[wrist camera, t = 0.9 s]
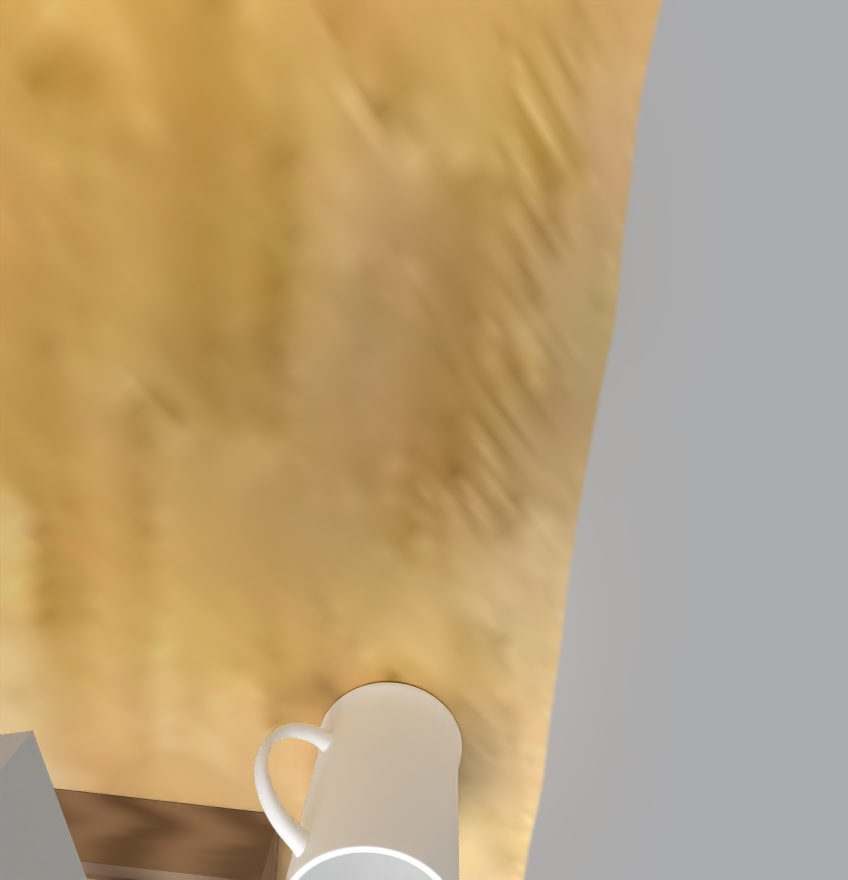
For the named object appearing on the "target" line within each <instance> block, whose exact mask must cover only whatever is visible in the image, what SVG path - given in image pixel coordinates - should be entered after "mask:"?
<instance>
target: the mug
mask: <svg viewBox="0 0 848 880" xmlns="http://www.w3.org/2000/svg"><path fill="white" fill-rule="evenodd" d="M284 738H297V739H302V740H305V741H308V742H310V743H312V744H314V745H315V746H316V747H318V754H317V758H316V762H315V766H314V770H313V774H312V778H311V782H310V786H309V790H308V794H307V798H306V801H305V805H304V809H303V813H302V817H301V821H300V824H298V823H297V822H296V821H295V820H294V819H293V818H292V817H291V816H290V815H289V814H288V812H287V811H286V810H285V808H284V807H283V805H282V804H281V802H280V801H279V799H278V797H277V795H276V793H275V791H274V789H273V786H272V783H271V780H270V776H269V771H268V754H269V751H270V748H271V746H272V745H273V744H274V743H275V742H276V741H278V740H281V739H284ZM461 755H462V740H461V734H460V731H459V728H458V725H457V723H456V721H455V719H454V717H453V716H452V714H451V713H450V711H449V710H448V709H447V708H446V707H445V706H444V705H443V704H442V703H441V702H440V701H439V700H438V699H436V698H435V697H434V696H432V695H431V694H429V693H427V692H425V691H423V690H421V689H419V688H416V687H414V686H410V685H406V684H402V683H393V682H381V683H373V684H368V685H365V686H361V687H359V688H356V689H354V690H352V691H350V692H348V693H347V694H345V695H344V696H342V697H341V698H340V699H338V700H337V701H336V702H335V703H334V704H333V705H332V706H331V708H330V709H329V710H328V712H327V713H326V715H325V717H324V719H323V721H322V723H321V726H320V727H318V726H316V725H312V724H308V723H300V722H295V723H288V724H284V725H282V726H279V727H278V728H276V729H274V730H273V731H272V732H271V733H270V734H269V735H268V736H267V737H266V738H265V739H264V741H263V742H262V744H261V745H260V747H259V749H258V752H257V755H256V759H255V766H254V777H255V785H256V790H257V794H258V797H259V800H260V803H261V805H262V808H263V810H264V812H265V814H266V816H267V818H268V820H269V821H270V823H271V824H272V826H273V828H274V829H275V830H276V832H277V833H278V834H279V836H280V837H281V838H282V839H283V841H284V842H285V843H286V844H287V845H288V846H289V847H290V849H291V850H292V851H293V853H292V856H291V860H290V864H289V868H288V872H287V876H286V880H459V820H458V768H459V765H460V761H461Z"/></svg>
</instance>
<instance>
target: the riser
mask: <svg viewBox="0 0 848 880" xmlns="http://www.w3.org/2000/svg"><path fill="white" fill-rule="evenodd" d="M54 790H55V793H56V796H57V799H58V801H59V804H60V807H61V810H62V812H63V815H64V818H65V820H66V823H67V826H68V829H69V831H70V834H71V837H72V840H73V842H74V845H75V848H76V851H77V853H78V856H79V859H80V861H81V864H82V867H83V870H84V872H85V875H86V878H87V880H276V868H277V852H278V836H279V834H278V833H277V832H276V830H275V829H274V828H273V826H272V824H271V823H270V821H269V820H268V818H267V816H266V814H265V813H260V812H251V811H243V810H234V809H225V808H216V807H208V806H199V805H190V804H181V803H173V802H164V801H155V800H146V799H138V798H129V797H120V796H111V795H103V794H94V793H85V792H76V791H68V790H59V789H54Z"/></svg>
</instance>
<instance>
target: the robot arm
mask: <svg viewBox="0 0 848 880" xmlns="http://www.w3.org/2000/svg"><path fill="white" fill-rule="evenodd" d="M0 880H87V878H86V875H85V872H84V870H83V867H82V864H81V861H80V859H79V856H78V853H77V851H76V848H75V845H74V842H73V840H72V837H71V834H70V831H69V829H68V826H67V823H66V820H65V818H64V815H63V812H62V810H61V807H60V804H59V801H58V799H57V796H56V793H55V790H54V788H53V785H52V782H51V779H50V777H49V774H48V771H47V769H46V766H45V763H44V760H43V758H42V755H41V752H40V749H39V747H38V744H37V741H36V738H35V736H34V733H33V731H27V732H19V733H12V734H5V735H0Z"/></svg>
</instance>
